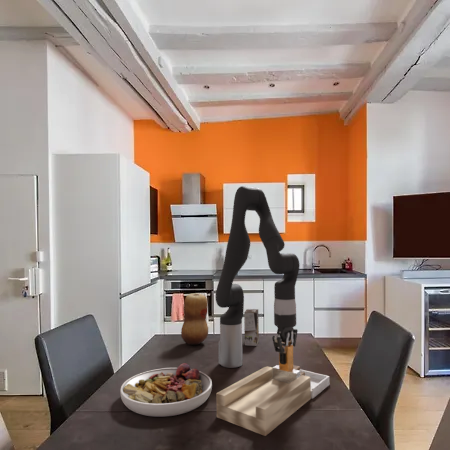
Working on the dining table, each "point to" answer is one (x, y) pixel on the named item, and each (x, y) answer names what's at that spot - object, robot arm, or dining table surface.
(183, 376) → the bowl
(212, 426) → the dining table surface
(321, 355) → the dining table surface
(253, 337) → the coffee box
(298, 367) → the brown wooden cube
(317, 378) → the tray
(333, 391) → the dining table surface
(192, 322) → the butternut squash
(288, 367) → the scraper
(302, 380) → the channel board
